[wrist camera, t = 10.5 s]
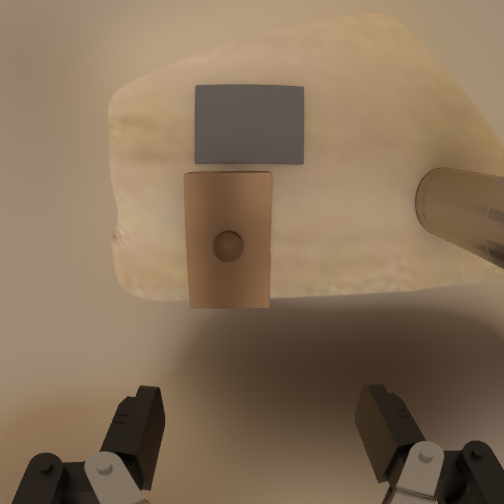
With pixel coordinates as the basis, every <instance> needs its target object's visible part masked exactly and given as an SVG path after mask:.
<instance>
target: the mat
mask: <svg viewBox="0 0 504 504" xmlns="http://www.w3.org/2000/svg"><path fill="white" fill-rule="evenodd" d="M303 159H304V87H297V86H280V85H196V97H195V164H203V163H278V164H303Z"/></svg>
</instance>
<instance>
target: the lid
mask: <svg viewBox="0 0 504 504" xmlns="http://www.w3.org/2000/svg"><path fill="white" fill-rule="evenodd" d="M184 198H185V227H186V248H187V266H188V282H189V297H190V308H269V299H270V260H271V210H272V173H271V172H268V171H211V172H189V173H186V174H184Z"/></svg>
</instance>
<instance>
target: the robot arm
mask: <svg viewBox="0 0 504 504" xmlns="http://www.w3.org/2000/svg"><path fill="white" fill-rule="evenodd" d="M416 210H417V215H418V218H419V220H420V222H421V224H422V225H423V227H424V228H425V229H426V230H427V231H429V232H430V233H432V234H434V235H436V236H439V237H441V238H443V239H445V240H447V241H449V242H451V243H453V244H455V245H457V246H459V247H461V248H463V249H465V250H467V251H469V252H471V253H473V254H475V255H477V256H479V257H481V258H483V259H485V260H487V261H489V262H491V263H493V264H495V265H497V266H499V267H500V268H503V269H504V177H501V176H495V175H489V174H483V173H476V172H470V171H463V170H456V169H448V168H438V169H435V170H433V171H431V172H430V173H428V174H427V175H426V176H425V178H424V179H423V180H422V182H421V184H420V186H419V189H418V191H417V197H416ZM355 423H356V426H357V429H358V431H359V434H360V437H361V439H362V442H363V444H364V447H365V449H366V452H367V455H368V457H369V460H370V462H371V465H372V468H373V470H374V473H375V476H376V478H377V481H378V483H381V482H385V481H388V482H389V485H390V486H389V488H388V490H387V492H386V494H385V497H384V499H383V501H382V503H381V504H436V499H437V502H438V504H504V470H503V468H502V466H501V464H500V463H499V461H498V460H497V458H496V456H495V455H494V453H493V451H492V450H491V448H490V447H489V446H488V445H487V444H485V443H484V442H481V441H471V442H469V443H467V444H466V445H465V446H464V448H463V449H462V450H460V451H443V450H442V449H441V447H440V446H438V445H437V444H435V443H433V442H429V441H426V440H425V438H424V436H423V434H422V433H421V431H420V429H419V427H418V426H417V424H416V422H415V421H414V419H413V417H411V414H410V412H409V410H407V407H406V405H405V404H404V402H403V400H402V399H401V398H399V397H398V396H397V395H396V394H394V393H388V392H387V390H386V388H385V387H384V385H383V384H382V383H372V384H365V385H363V386H362V389H361V392H360V396H359V399H358V403H357V406H356V410H355ZM164 428H165V412H164V407H163V402H162V397H161V391H160V388H159V387H154V386H142V385H141V386H140V387H139V389H138V391H137V394H136V397H129V396H127V398H125V399H124V400H123V401H122V402H121V403H120V404H119V405H118V408H117V410H116V413H115V416H114V417H113V420H112V423H111V425H110V427H109V430H108V432H107V434H106V438H105V440H104V442H103V444H102V447H101V450H100V451H99V452H97V453H95V454H93V455H91V456H90V457H89V458H88V459H87V460H86V461H84V462H67V463H62V461H61V460H60V458H59V457H58V456H56V455H54V454H51V453H41V454H38V455H36V456H34V457H33V458H32V459H31V461H30V462H29V464H28V467H27V469H26V471H25V473H24V476H23V478H22V480H21V482H20V485H19V487H18V490H17V492H16V495H15V497H14V499H13V502H12V504H150V503H149V501H147V500H146V499H145V498H144V496H143V494H142V493H141V491H142V489H143V490H149V491H150V490H151V486H152V481H153V477H154V472H155V468H156V463H157V459H158V454H159V450H160V445H161V441H162V437H163V432H164Z"/></svg>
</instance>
